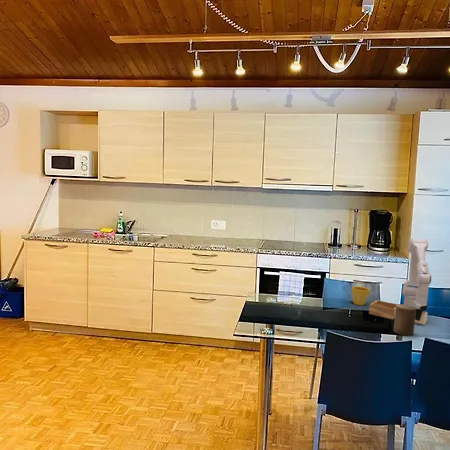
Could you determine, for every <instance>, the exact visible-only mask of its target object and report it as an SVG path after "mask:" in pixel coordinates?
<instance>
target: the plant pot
mask: <svg viewBox="0 0 450 450" xmlns="http://www.w3.org/2000/svg"><path fill="white" fill-rule="evenodd" d="M351 293H352V300H353V304H354V305H357V306H365V305H366V301H367V299H368V297H369V295H370V288H367V287H363V286H357V285H356V286H355V285H354V286H352V289H351Z"/></svg>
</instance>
